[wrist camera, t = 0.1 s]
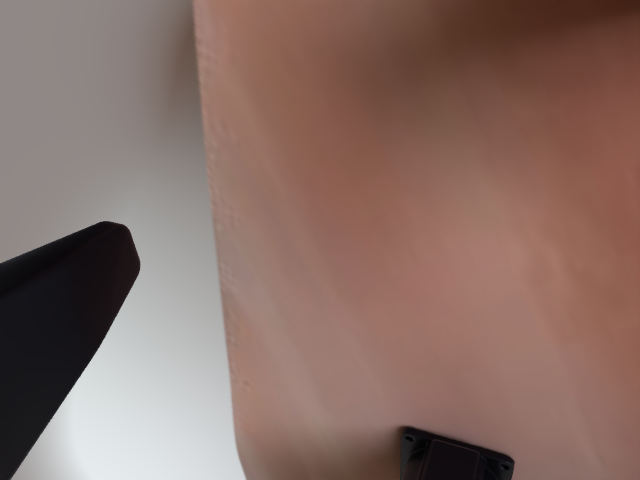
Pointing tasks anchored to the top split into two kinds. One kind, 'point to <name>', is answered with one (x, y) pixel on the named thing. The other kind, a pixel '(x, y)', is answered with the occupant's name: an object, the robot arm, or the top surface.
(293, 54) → the top surface
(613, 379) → the top surface
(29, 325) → the robot arm
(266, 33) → the top surface
